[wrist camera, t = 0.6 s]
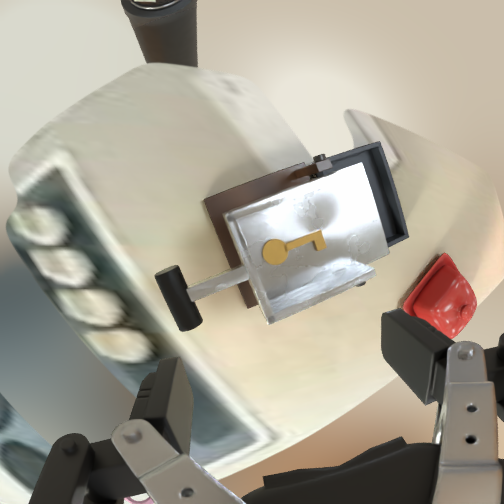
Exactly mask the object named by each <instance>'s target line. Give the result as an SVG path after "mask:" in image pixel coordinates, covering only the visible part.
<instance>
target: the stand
mask: <svg viewBox="0 0 504 504" xmlns="http://www.w3.org/2000/svg"><path fill="white" fill-rule="evenodd" d="M313 159H314V162H315V163H314V164H311V165H308V166H305V163H304V162H303V163H300V164H297V165H294V166H291V167H289V168H286V169H283V170H280V171H277V172H274V173H272V174H269V175H266V176H263V177H261V178H258V179H255V180H253V181H250V182H247V183H244V184H242V185H239V186H237V187H234V188H231V189H229V190H226V191H224V192H221V193H218V194H216V195H213V196H211V197H208V198H206V199H204V202H205V205H206V207H207V210H208V212H209V215H210V217H211V220H212V222H213V225H214V227H215V230H216V232H217V235H218V237H219V240H220V242H221V245H222V247H223V250H224V252H225V255H226V257H227V260H228V262H229V265H230V267H231V268H234V267H236V266H239V265H241V264H242V263H241V260H240V258H239V255H238V253H237V250H236V248H235V245H234V243H233V240H232V238H231V235H230V233H229V230H228V228H227V225H226V222H225V220H224V217H223V215H222V213H224V212H227V211H229V210H232V209H234V208H237V207H239V206H242V205H245V204H247V203H250V202H252V201H255V200H258V199H260V198H263V197H265V196H268V195H271V194H273V193H276V192H279V191H281V190H284V189H287V188H290V187H292V186H295V185H298V184H300V183H303V182H306V181H309V180H311V179H310V176H309V175H312V174H316V173H319V172H322V171H325V170H328V169H331V168H333V167H332V164H331V161H330V159H329V158H328V159H326V157H325V154H321V155H318V156H315V157H313ZM365 283H366V281H365V282H363V283H361V284H358V285H356V286H357V287H359V286H362V285H364V284H365ZM238 287H239V289H240V292H241V294H242V296H243V299H244V301H245V304H246V306H247V308H251V307H253V306H256V305H258V303H257V300H256V298H255V295H254V293H253V290H252V288H251V285H250V283H249V280H246V281H243V282H241V283H238Z"/></svg>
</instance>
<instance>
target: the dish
mask: <svg viewBox="0 0 504 504" xmlns="http://www.w3.org/2000/svg"><path fill="white" fill-rule="evenodd" d="M222 215H223V217H224V220H225V222H226V225H227V228H228V230H229V233H230V235H231V238H232V240H233V243H234V245H235V248H236V250H237V253H238V255H239V258H240V260H241V263H242V264H241V265H239V266H236V267H234V268H231V269H229V270H226V271H224V272H222V273H219V274H217V275H214V276H212V277H209V278H207V279H204V280H202V281H199V282H197V283H194V284H192V285H189V286H187V284H186V282H185V279H184V277H183V275H182V272H181V270H180V268H179V266H178V265H174V266H171V267H168V268H166V269H164V270H162V271H160V272H158V273H156V274H155V275H154V277H155V279H156V281H157V283H158V286H159V288H160V290H161V292H162V294H163V297H164V299H165V301H166V303H167V305H168V307H169V309H170V311H171V313H172V316H173V318H174V320H175V322H176V324H177V326H178V328H179V330H180V331H182V332H184V331H189V330H192V329H194V328H196V327H198V326H199V325H200V324H201V323H202V322H203V319H202V317H201V315H200V313H199V310H198V308H197V306H196V304H195V302H194V301H196V300H199V299H201V298H204V297H206V296H209V295H211V294H214V293H216V292H219V291H221V290H224V289H226V288H229V287H231V286H233V285H236V284H238V283H241V282H243V281H246V280H249V283H250V285H251V288H252V290H253V293H254V295H255V298H256V300H257V303H258V305H259V308H260V310H261V312H262V314H263V315H264V317H265V319H266V321H267V323H268V325H270V324H272V323H275V322H277V321H279V320H282V319H284V318H286V317H289V316H291V315H293V314H296V313H298V312H300V311H302V310H305V309H307V308H309V307H311V306H314V305H316V304H318V303H320V302H322V301H325V300H327V299H329V298H331V297H333V296H335V295H338V294H340V293H342V292H344V291H346V290H348V289H350V288H352V287H354V286H356V285H358V284H361V283H363V282H365V281H367V280H369V279H371V278H373V277H375V276H376V273H375V269H374V268H372V267H370V266H367V264H369V263H371V262H373V261H375V260H377V259H379V258H382V257H384V256H386V255H388V254H389V249H388V245H387V242H386V238H385V234H384V231H383V227H382V223H381V220H380V217H379V213H378V210H377V207H376V203H375V200H374V197H373V194H372V191H371V187H370V184H369V181H368V178H367V175H366V172H365V170H364V167H363V164H362V162H361V163H357V164H354V165H351V166H348V167H346V168H343V169H340V170H337V171H334V172H331V173H328V174H326V175H323V176H320V177H317V178H314V179H311V180H309V181H306V182H303V183H300V184H298V185H295V186H292V187H290V188H287V189H284V190H281V191H279V192H276V193H273V194H271V195H268V196H265V197H263V198H260V199H258V200H255V201H252V202H250V203H247V204H245V205H242V206H239V207H237V208H234V209H232V210H229V211H227V212H224V213H222ZM319 229H320V230H321V231H322V234H323V237H324V240H325V243H326V246H327V248H325V249H323V250H320V251H316V248H315V245H314V243H313V241H311V242H309V243H306V244H304V245H301V246H299V247H297V248H294V249H292V250H289V251H288V256H287V258H286V260H285V261H284V262H283V263H281V264H279V265H271V264H269V263H267V262H266V261H265V260H264V258H263V256H262V248H263V246H264V244H265V243H266V242H267V241H268V240H270V239H280V240H282V241H283V242H284V243H287V242H289V241H292V240H294V239H297V238H299V237H302V236H304V235H307V234H309V233H311V232H314V231H316V230H319Z"/></svg>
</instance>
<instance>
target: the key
mask: <svg viewBox="0 0 504 504" xmlns="http://www.w3.org/2000/svg"><path fill="white" fill-rule="evenodd" d="M311 241H313V243H314V245H315V248H316V251H320V250H323V249H325V248H327V246H326V243H325V240H324V237H323V234H322V231H321V230H320V229H319V230H316V231H314V232H311V233H309V234H307V235H304V236H302V237H299V238H297V239H294V240H292V241H289V242H287V243H284V242H283V241H282V240H280V239H270V240H268V241H267V242H266V243H265V244H264V246H263V248H262V256H263V258H264V260H265V261H266V262H267V263H269V264H271V265H279V264H281V263H283V262H284V261H285V260H286V258H287V256H288V251H289V250H292V249H294V248H297V247H299V246H301V245H304V244H306V243H309V242H311Z"/></svg>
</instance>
